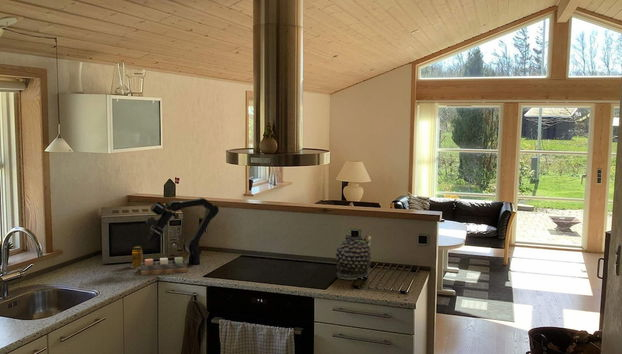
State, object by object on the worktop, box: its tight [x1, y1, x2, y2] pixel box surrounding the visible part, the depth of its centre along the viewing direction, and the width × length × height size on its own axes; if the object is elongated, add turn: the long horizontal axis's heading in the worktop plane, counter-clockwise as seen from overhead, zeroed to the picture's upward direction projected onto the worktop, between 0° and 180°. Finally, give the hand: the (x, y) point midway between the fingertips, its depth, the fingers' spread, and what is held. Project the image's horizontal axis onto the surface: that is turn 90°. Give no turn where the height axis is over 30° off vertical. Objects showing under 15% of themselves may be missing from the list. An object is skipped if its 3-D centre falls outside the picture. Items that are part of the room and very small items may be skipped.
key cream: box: [159, 257, 169, 265], centre depth 343 cm, size 4×4×3 cm
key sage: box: [174, 256, 184, 264], centre depth 345 cm, size 4×4×3 cm
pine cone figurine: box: [335, 234, 372, 280], centre depth 332 cm, size 21×15×25 cm
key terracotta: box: [144, 258, 154, 266], centre depth 340 cm, size 4×4×3 cm
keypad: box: [140, 259, 189, 276], centre depth 343 cm, size 26×14×4 cm, turn 108°
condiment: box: [130, 245, 144, 269], centre depth 352 cm, size 7×8×12 cm
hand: (148, 241), depth 344 cm, fingers open, 9 cm apart
